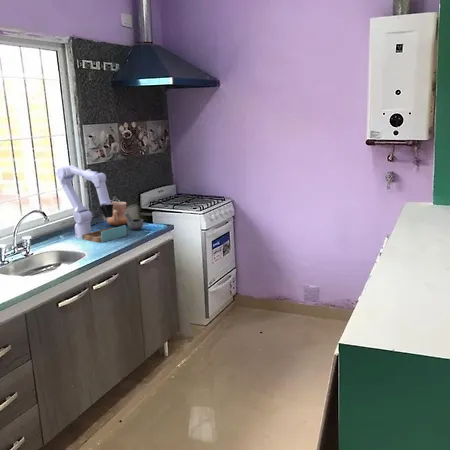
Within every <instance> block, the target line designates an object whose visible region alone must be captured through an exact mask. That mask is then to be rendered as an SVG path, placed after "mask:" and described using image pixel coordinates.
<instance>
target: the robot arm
mask: <svg viewBox="0 0 450 450" xmlns="http://www.w3.org/2000/svg"><path fill="white" fill-rule="evenodd" d="M75 175H77V176H80V177H82V178H83V179H84V180H86V181H90V182H92V184H93V185H94V187H95V190H96V193H97V197H98V201H99V205H100V206H98V208H99V210H100V211H101V212H102V214H103V216H104V218H109V217H113V204H111V203H112V202H113V200H112V199H110V196H109V195H110V194H109V191H108V188H107V184H106V181H107V176H106V174H105V173H104V172H98V171H94V170H92V169H90V168H88V169H81V168H80V167H77V166H76V165H72V164H70V165H66V166H59V167H58V168H57V169H56V176H57V178H58V179H59V182H60V185H61V188H62V189H63V191H64V192H65V195H66V196H67V198H68V200H69V202H70V204H71V206H72V208H73V209H74V210H73V211H72V216H73V219H74V221H75V225H74V233H75V236H74V238H76V239H80V238H82V235H84V234H88V233H92V227H91V222H92V219H93V212H91V210H89V208H88V207H87V206H85V205H84V204H83V203H82V201H81V199H80V198H79V196H78V194H77V192H76V189H75V188H74V186H73V184H72V181H73V179H74V178H75Z"/></svg>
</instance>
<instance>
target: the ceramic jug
mask: <svg viewBox="0 0 450 450" xmlns="http://www.w3.org/2000/svg"><path fill="white" fill-rule="evenodd" d="M111 204H113V217H107V219H106V222H107V224H108V225H110V226H116V227H117V226H118V227H120V226H124V225H126V224H127V225H128V223H127V221H128V219H127V218H126V216H125V214H126V210H127V202H126V201H111Z"/></svg>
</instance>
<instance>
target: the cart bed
mask: <svg viewBox="0 0 450 450" xmlns="http://www.w3.org/2000/svg"><path fill="white" fill-rule="evenodd" d="M112 228H113V227H108V228H103V229H100V230H95V231H91V233H88V234H84V235H82V237H81V239H82V240H85V241H89V242H93V243H94V242H95V243H98V244H99V243H103V242H102V240H101V231H105V230H109V229H112ZM126 232H127V235H128V234H129V233H128V230H127V229H126ZM127 235H126V236H127ZM128 236H129V235H128Z"/></svg>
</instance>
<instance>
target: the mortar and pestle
mask: <svg viewBox="0 0 450 450" xmlns="http://www.w3.org/2000/svg"><path fill="white" fill-rule="evenodd" d="M124 214H125V216H126V218H127V219H128V221H127V227H128V228H129V229H130V230H131V231H139V230H141V229H142V228H143V226H144V219H142V218H132V217H131V215H130V214H129V212H125V213H124Z"/></svg>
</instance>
